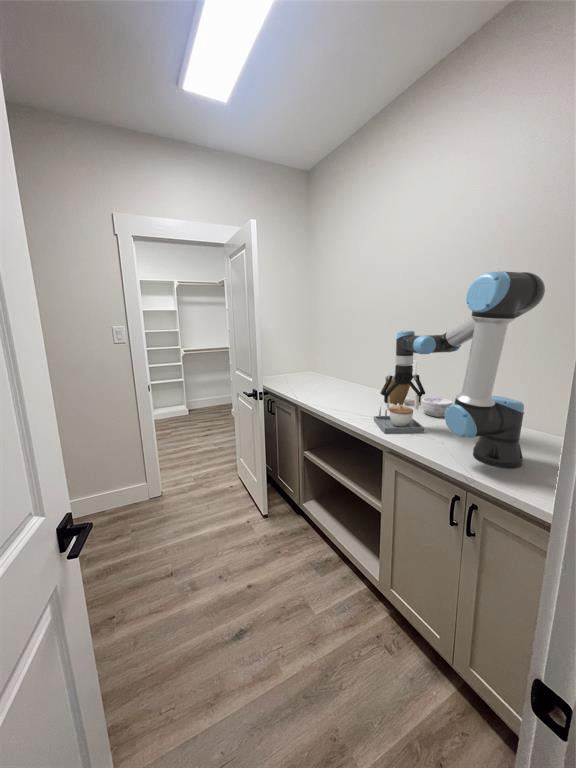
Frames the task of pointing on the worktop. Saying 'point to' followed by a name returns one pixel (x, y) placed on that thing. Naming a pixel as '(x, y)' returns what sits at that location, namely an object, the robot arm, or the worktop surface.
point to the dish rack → (390, 428)
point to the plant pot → (398, 393)
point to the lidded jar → (400, 415)
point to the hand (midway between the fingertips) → (401, 409)
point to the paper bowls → (435, 406)
